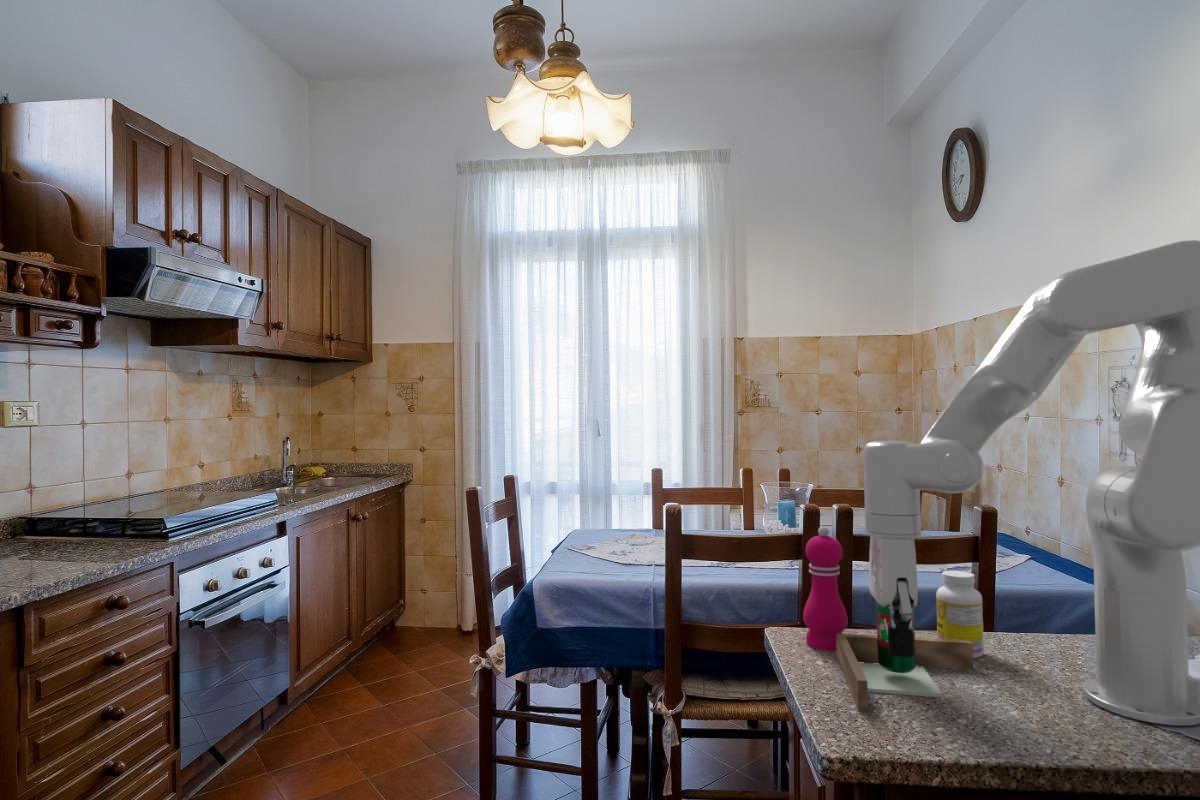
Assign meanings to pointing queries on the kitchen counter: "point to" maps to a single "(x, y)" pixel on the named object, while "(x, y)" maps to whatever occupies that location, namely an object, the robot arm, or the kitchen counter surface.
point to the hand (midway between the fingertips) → (896, 647)
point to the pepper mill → (824, 593)
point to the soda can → (884, 657)
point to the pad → (899, 681)
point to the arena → (866, 651)
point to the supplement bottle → (960, 610)
